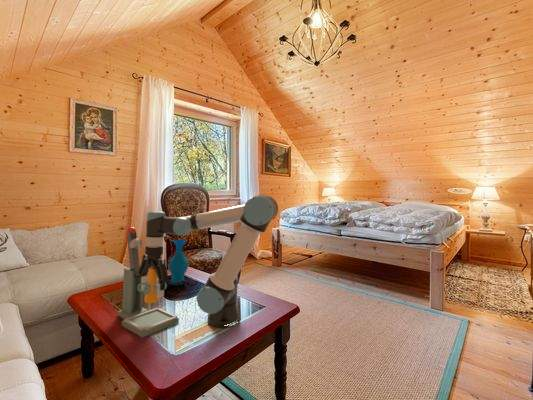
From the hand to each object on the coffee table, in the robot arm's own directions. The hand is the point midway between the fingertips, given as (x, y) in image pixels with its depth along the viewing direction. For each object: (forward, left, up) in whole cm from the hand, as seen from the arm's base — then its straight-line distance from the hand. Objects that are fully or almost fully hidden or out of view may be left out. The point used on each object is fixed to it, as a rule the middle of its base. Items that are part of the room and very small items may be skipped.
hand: (152, 293), depth 126 cm
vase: (+38, -44, -14) cm, 60 cm away
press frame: (+5, 0, -14) cm, 15 cm away
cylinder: (0, 0, -4) cm, 4 cm away
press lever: (+13, 0, +17) cm, 21 cm away
